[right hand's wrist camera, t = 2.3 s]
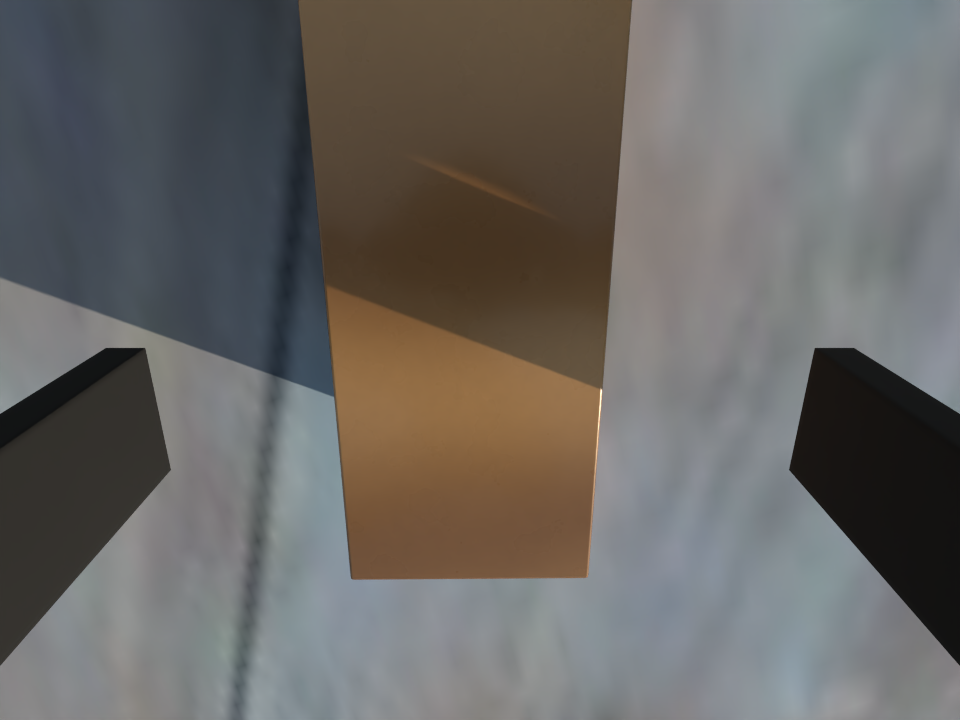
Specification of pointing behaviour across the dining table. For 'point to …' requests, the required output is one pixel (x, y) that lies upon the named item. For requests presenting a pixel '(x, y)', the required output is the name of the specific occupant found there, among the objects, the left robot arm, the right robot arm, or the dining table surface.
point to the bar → (467, 272)
